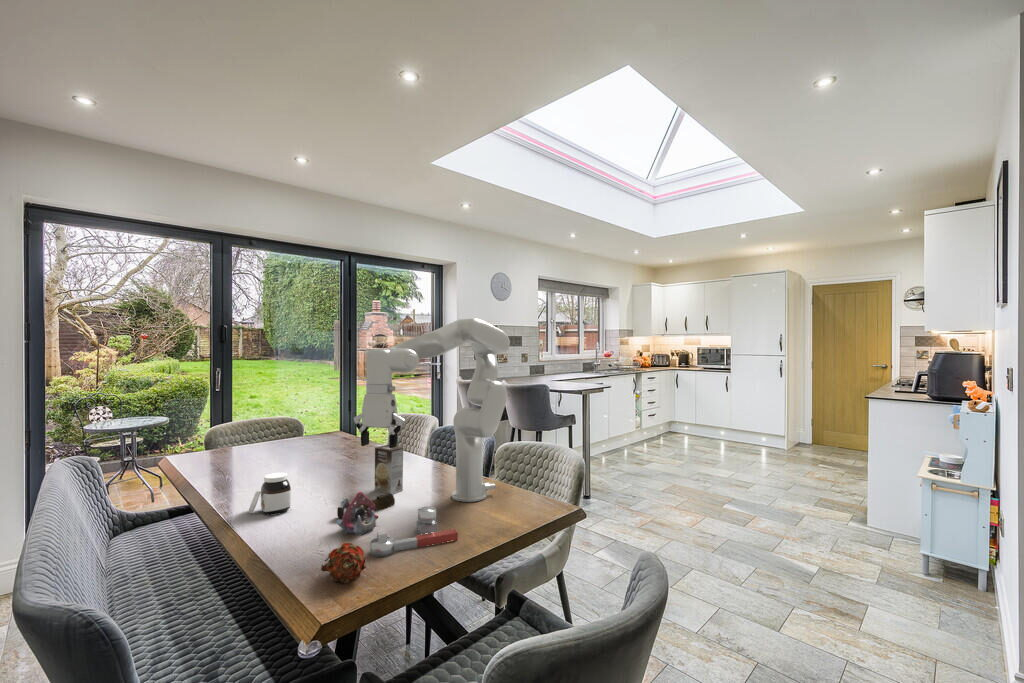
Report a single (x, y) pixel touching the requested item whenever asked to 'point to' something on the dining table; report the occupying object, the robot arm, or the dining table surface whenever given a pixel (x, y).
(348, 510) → the brake caliper
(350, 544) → the dragon fruit
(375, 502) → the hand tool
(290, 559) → the dining table surface
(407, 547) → the ratchet
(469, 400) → the robot arm
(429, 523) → the socket
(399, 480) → the coffee box
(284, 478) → the spread jar
